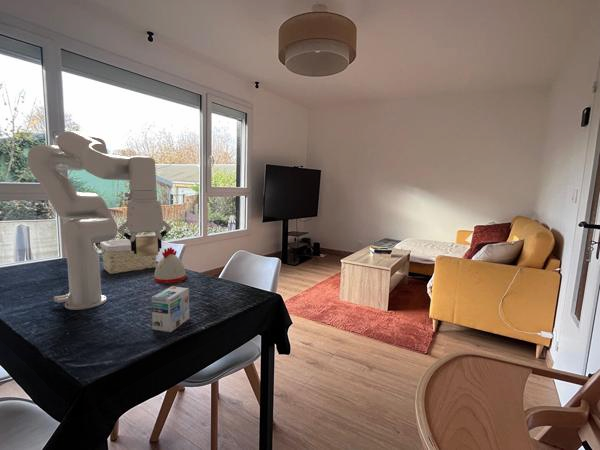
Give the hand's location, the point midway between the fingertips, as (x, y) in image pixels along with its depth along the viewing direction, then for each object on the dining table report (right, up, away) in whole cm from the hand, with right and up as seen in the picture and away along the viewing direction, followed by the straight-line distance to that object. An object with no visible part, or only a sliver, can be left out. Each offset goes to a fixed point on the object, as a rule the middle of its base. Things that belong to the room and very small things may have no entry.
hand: (146, 251), depth 97 cm
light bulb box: (+8, -24, 0) cm, 25 cm away
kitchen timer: (-12, -17, +46) cm, 51 cm away
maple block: (0, -1, 0) cm, 1 cm away
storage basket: (-39, -14, +61) cm, 74 cm away
